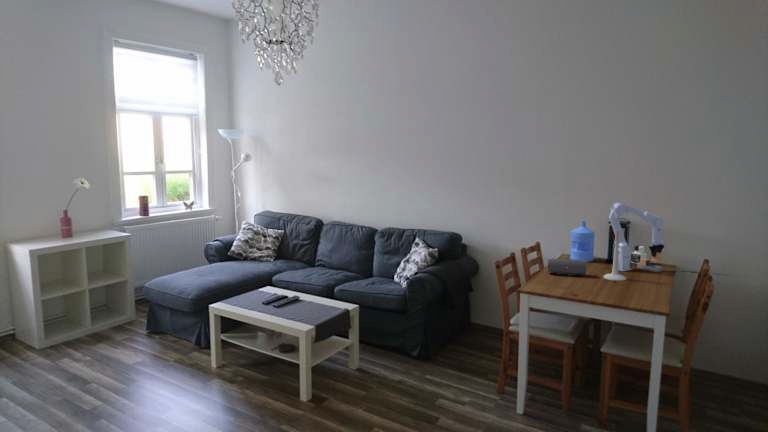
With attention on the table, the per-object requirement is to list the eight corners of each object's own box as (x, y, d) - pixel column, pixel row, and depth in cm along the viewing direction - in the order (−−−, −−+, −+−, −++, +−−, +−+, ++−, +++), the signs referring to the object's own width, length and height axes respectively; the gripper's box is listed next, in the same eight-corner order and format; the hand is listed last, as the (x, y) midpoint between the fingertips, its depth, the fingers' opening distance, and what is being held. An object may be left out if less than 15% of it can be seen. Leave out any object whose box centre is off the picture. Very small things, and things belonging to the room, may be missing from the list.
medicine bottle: (630, 262, 345) (631, 245, 343) (637, 261, 348) (637, 244, 347) (639, 264, 339) (640, 247, 337) (646, 263, 342) (647, 246, 340)
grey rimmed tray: (663, 270, 320) (664, 261, 319) (657, 272, 316) (657, 263, 316) (643, 266, 332) (643, 257, 331) (636, 267, 328) (637, 259, 328)
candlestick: (629, 281, 295) (631, 231, 291) (606, 280, 298) (608, 231, 294) (623, 276, 308) (625, 228, 304) (601, 275, 310) (603, 228, 306)
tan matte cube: (660, 260, 320) (661, 253, 319) (657, 261, 318) (657, 253, 317) (653, 259, 324) (654, 252, 323) (650, 260, 322) (650, 252, 321)
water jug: (577, 256, 366) (578, 219, 362) (597, 259, 354) (599, 221, 351) (566, 259, 356) (567, 221, 353) (586, 263, 344) (588, 223, 341)
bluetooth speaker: (547, 275, 312) (548, 259, 311) (547, 271, 321) (548, 256, 320) (586, 277, 305) (586, 261, 303) (585, 274, 313) (585, 258, 312)
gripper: (656, 237, 312) (655, 258, 313) (669, 235, 319) (668, 256, 320) (645, 235, 318) (644, 256, 319) (659, 234, 325) (658, 254, 326)
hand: (655, 256), depth 320 cm, fingers closed on tan matte cube, 4 cm apart
